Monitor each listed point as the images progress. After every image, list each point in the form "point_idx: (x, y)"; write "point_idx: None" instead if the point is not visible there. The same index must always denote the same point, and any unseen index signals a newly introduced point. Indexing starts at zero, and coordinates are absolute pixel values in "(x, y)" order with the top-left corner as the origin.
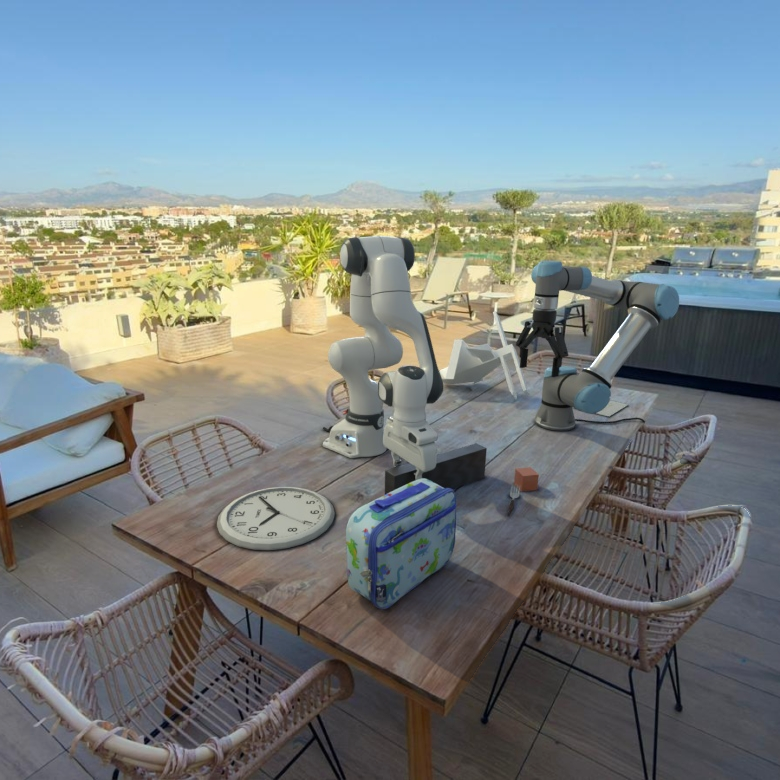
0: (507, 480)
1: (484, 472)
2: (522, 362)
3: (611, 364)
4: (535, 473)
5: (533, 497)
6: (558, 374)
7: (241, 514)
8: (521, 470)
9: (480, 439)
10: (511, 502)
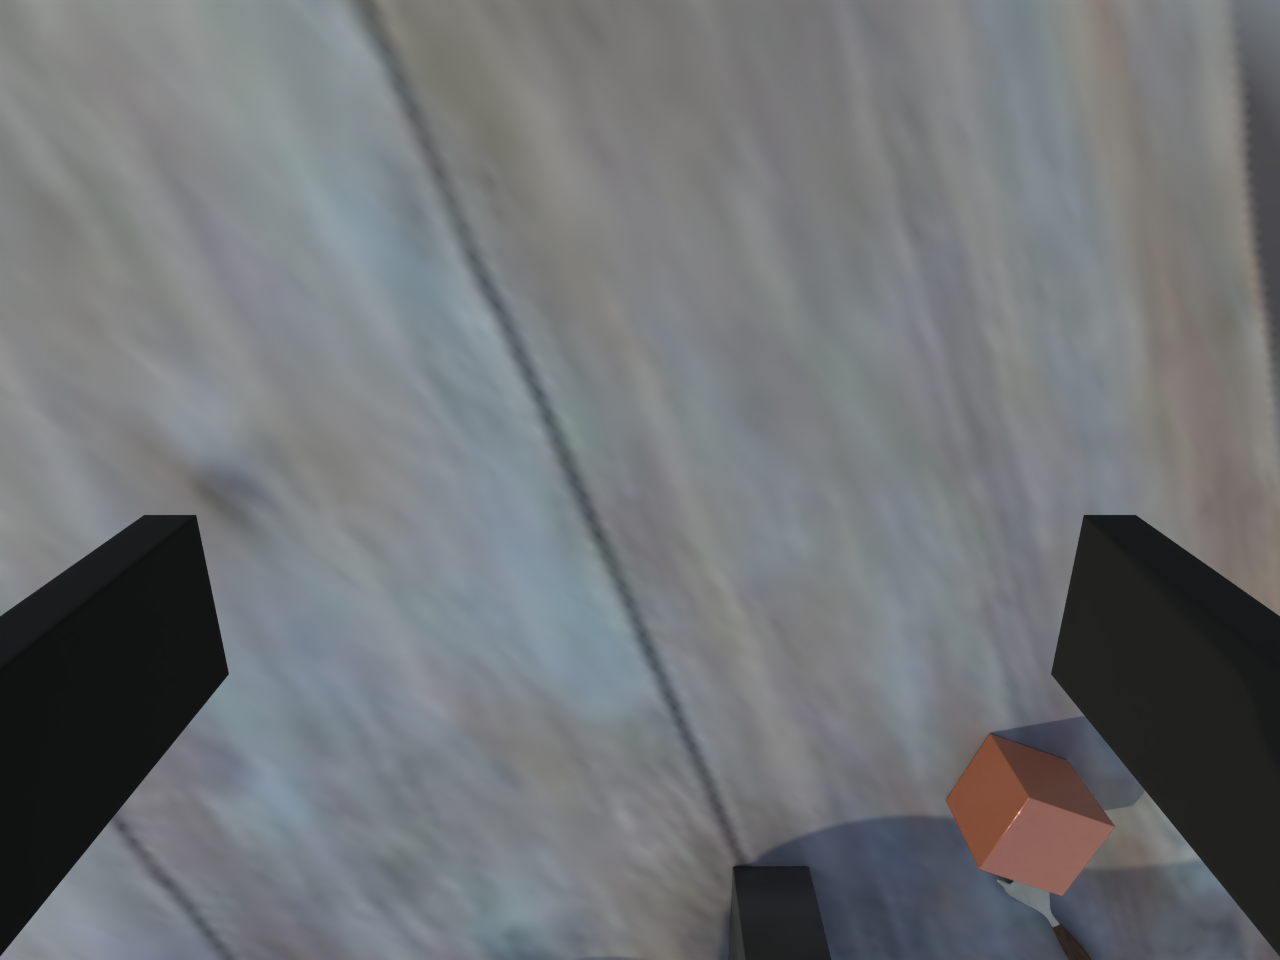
0: (899, 799)
1: (815, 895)
2: (155, 738)
3: None
4: (1093, 830)
5: None
6: (1156, 533)
7: None
8: (1016, 861)
9: (381, 549)
10: (1068, 946)
